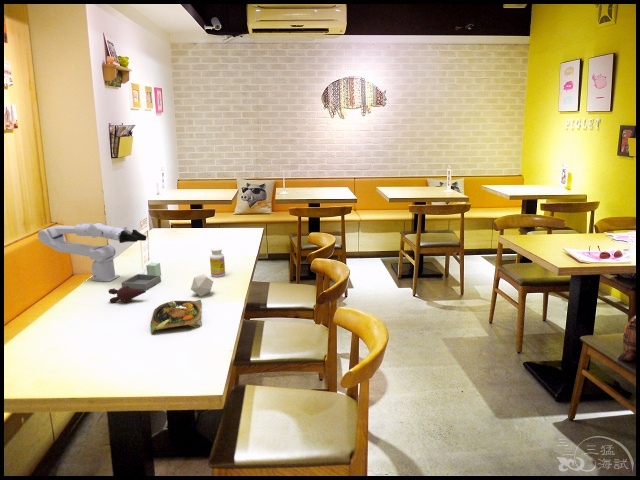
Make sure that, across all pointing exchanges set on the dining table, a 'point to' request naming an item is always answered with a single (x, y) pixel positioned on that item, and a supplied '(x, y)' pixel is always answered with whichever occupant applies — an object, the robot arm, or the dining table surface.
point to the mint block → (153, 269)
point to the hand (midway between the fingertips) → (141, 238)
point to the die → (202, 285)
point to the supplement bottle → (217, 263)
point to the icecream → (125, 294)
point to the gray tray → (142, 281)
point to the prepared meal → (176, 315)
